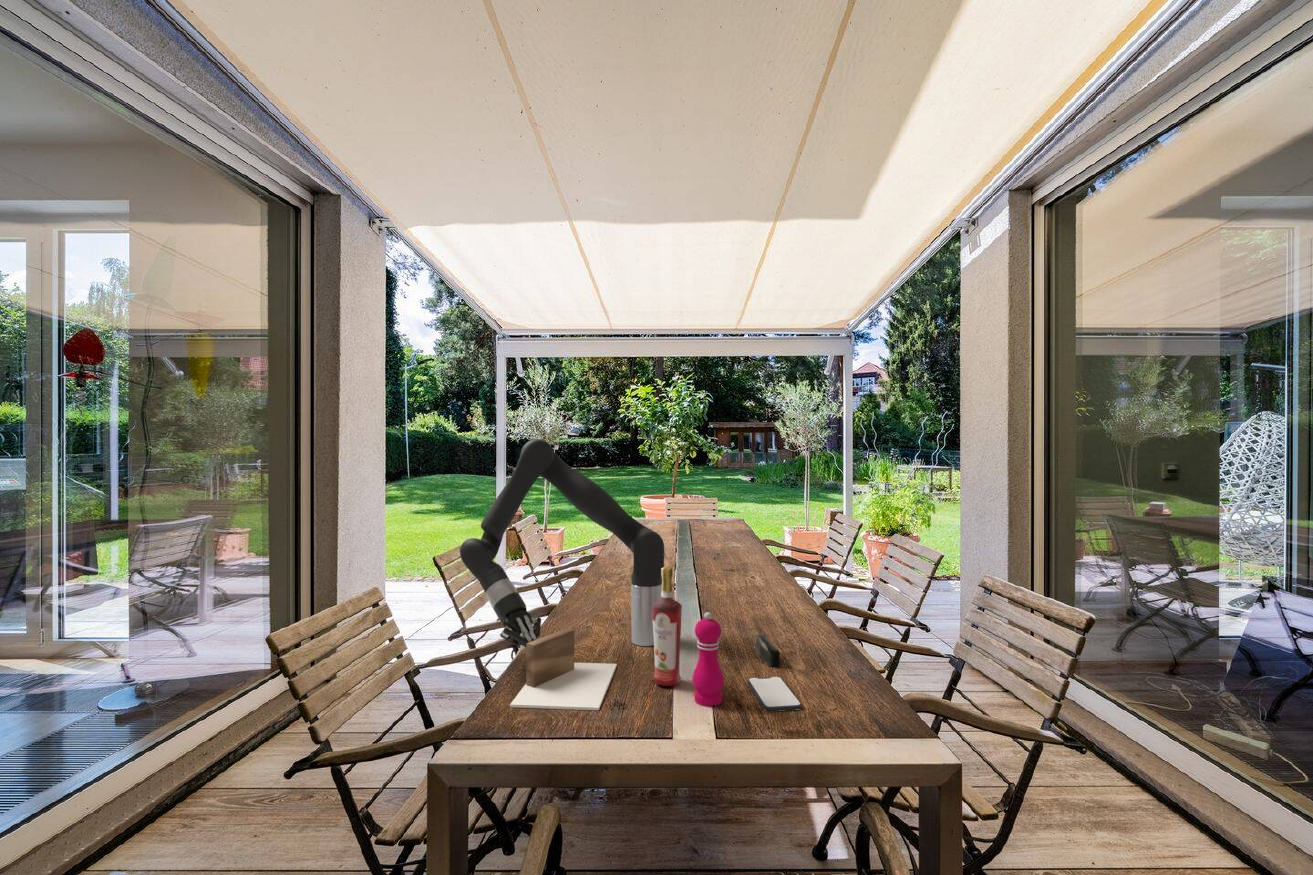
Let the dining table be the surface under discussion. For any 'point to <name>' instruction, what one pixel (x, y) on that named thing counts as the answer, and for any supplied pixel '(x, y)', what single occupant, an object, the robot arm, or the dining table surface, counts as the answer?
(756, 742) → the dining table surface
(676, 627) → the liquor
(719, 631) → the pepper mill
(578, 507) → the robot arm
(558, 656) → the slab
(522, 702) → the mat
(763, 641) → the mobile phone
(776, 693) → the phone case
